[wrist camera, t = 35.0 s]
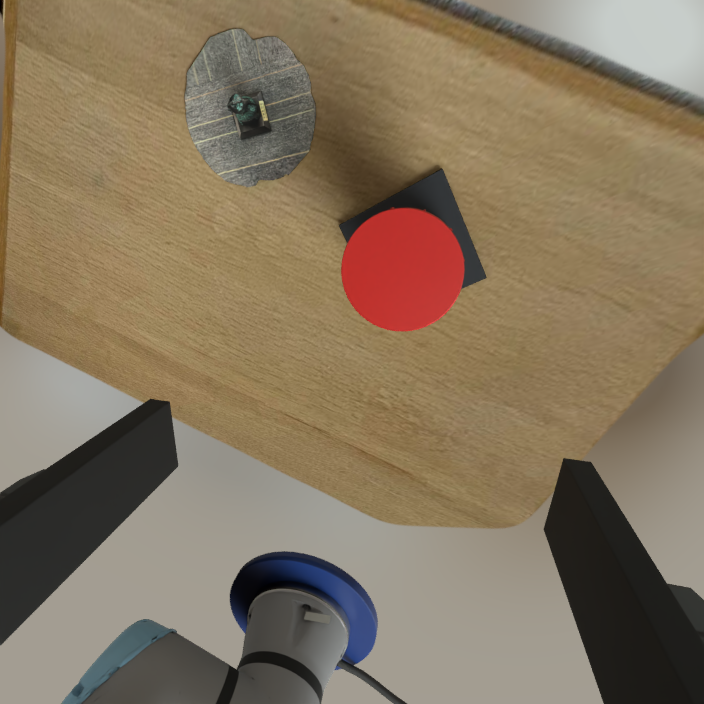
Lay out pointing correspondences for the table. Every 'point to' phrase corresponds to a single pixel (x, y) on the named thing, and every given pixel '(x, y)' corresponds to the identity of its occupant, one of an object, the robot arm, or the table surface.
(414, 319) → the lid
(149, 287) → the table surface
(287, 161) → the sculpture
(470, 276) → the mat
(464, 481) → the table surface
